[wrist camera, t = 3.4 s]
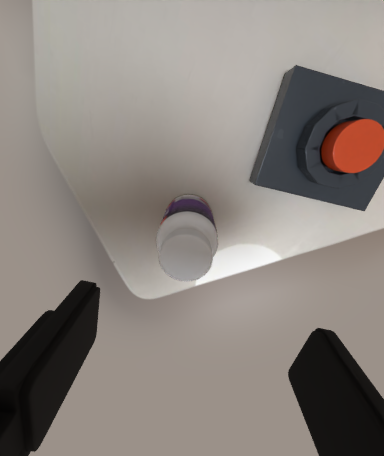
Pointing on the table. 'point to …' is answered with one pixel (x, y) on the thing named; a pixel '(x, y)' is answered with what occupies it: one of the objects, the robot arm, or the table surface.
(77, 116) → the table surface
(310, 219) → the table surface
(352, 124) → the button
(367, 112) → the dark grey flat piece
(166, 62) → the table surface
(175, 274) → the pill bottle
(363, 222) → the table surface
